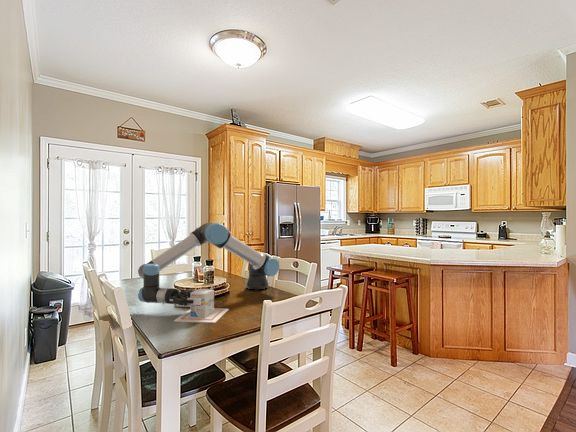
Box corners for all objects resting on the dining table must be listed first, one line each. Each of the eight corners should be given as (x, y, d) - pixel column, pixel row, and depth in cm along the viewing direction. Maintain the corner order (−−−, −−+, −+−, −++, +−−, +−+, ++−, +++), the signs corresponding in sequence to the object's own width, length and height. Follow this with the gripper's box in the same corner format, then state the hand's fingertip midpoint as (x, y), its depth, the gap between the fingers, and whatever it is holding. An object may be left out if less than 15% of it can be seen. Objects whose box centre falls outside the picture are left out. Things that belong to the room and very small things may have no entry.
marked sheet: (228, 309, 159) (228, 308, 159) (215, 322, 139) (215, 321, 139) (192, 308, 161) (192, 307, 161) (173, 321, 141) (173, 320, 141)
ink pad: (211, 300, 176) (211, 297, 176) (202, 307, 163) (202, 304, 163) (187, 299, 178) (187, 296, 178) (175, 306, 164) (175, 303, 164)
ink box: (189, 316, 147) (189, 292, 147) (199, 311, 155) (199, 288, 155) (205, 317, 145) (205, 293, 145) (214, 312, 153) (214, 289, 153)
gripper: (182, 296, 166) (218, 298, 162) (152, 310, 142) (194, 313, 137) (181, 283, 166) (218, 284, 162) (152, 294, 142) (194, 296, 137)
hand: (207, 297), depth 149 cm, fingers open, 13 cm apart
